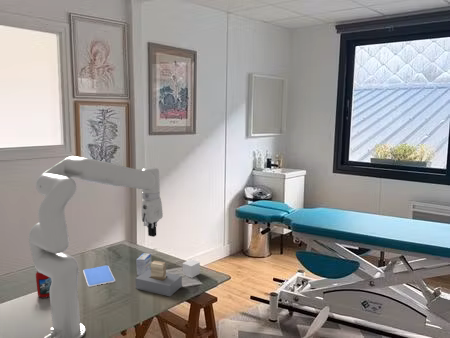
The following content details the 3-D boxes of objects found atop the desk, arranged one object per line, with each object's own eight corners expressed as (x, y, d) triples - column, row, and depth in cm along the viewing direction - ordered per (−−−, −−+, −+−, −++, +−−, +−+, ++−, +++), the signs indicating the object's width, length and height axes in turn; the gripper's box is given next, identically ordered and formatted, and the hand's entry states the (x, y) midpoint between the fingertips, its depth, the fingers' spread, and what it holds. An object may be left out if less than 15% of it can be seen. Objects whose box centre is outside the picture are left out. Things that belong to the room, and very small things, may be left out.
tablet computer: (115, 282, 195) (115, 280, 195) (88, 288, 190) (87, 285, 189) (108, 267, 212) (108, 264, 212) (82, 271, 207) (82, 269, 206)
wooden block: (162, 290, 187) (162, 265, 184) (151, 287, 189) (150, 263, 187) (166, 287, 190) (165, 262, 187) (155, 284, 192) (154, 260, 190)
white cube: (199, 273, 203) (199, 262, 202) (191, 278, 199) (191, 266, 197) (191, 270, 207) (191, 259, 206) (182, 274, 202) (182, 263, 201)
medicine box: (145, 276, 200) (144, 259, 198) (136, 275, 201) (136, 259, 199) (151, 269, 208) (150, 253, 206) (143, 268, 209) (142, 252, 207)
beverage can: (44, 300, 178) (41, 274, 176) (34, 296, 182) (31, 270, 179) (57, 293, 184) (55, 268, 182) (48, 289, 187) (45, 265, 185)
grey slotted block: (169, 296, 181) (169, 285, 180) (135, 288, 188) (135, 278, 187) (181, 285, 191) (181, 275, 190) (149, 278, 198) (148, 269, 197)
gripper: (148, 200, 172) (149, 242, 175) (167, 192, 185) (168, 231, 189) (133, 198, 175) (135, 239, 178) (153, 191, 188) (154, 229, 192)
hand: (152, 235), depth 184 cm, fingers closed
